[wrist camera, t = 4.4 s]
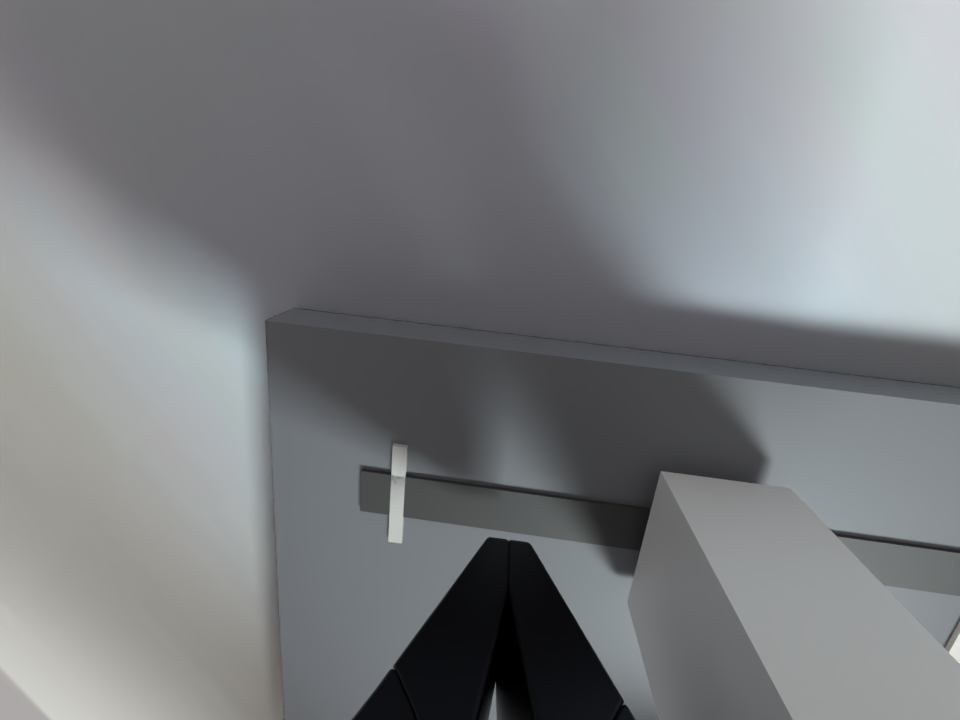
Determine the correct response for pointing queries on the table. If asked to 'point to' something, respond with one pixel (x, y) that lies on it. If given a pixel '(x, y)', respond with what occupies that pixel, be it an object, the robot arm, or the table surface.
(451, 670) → the robot arm
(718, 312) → the table surface
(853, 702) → the fader
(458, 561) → the console
